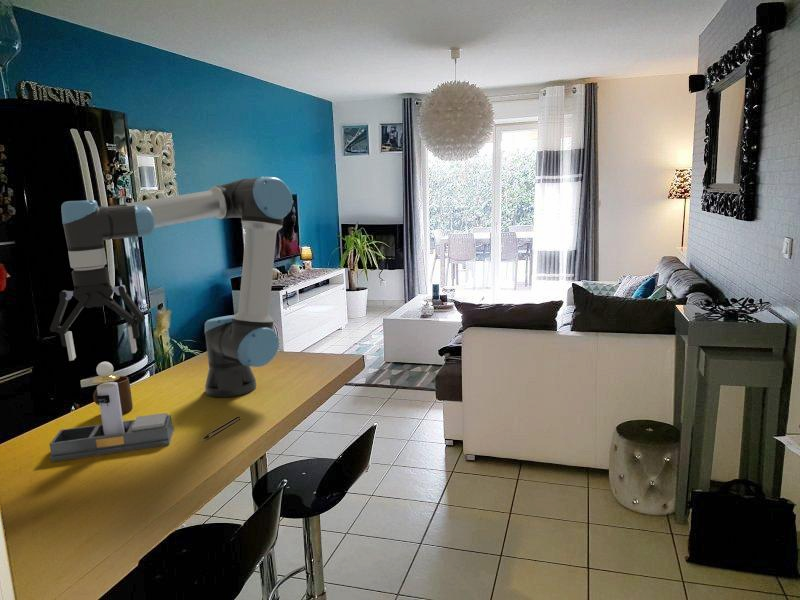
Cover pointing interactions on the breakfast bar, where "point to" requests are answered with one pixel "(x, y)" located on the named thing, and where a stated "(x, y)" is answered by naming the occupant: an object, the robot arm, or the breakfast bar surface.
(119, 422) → the perfume bottle
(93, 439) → the rack
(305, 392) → the breakfast bar surface
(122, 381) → the mug
